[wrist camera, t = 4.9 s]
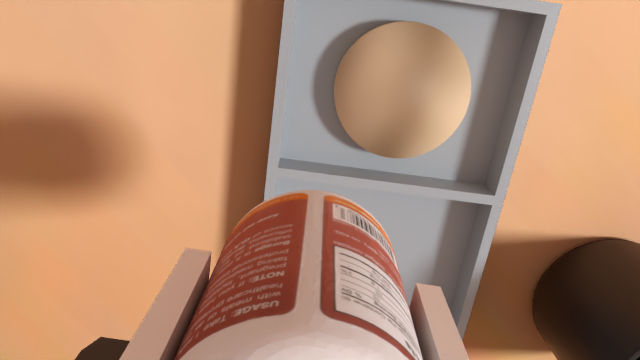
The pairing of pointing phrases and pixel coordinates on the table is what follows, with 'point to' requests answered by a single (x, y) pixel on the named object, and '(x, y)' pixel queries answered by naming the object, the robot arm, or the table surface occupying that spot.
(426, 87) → the coaster
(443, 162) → the caddy
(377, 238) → the pill bottle
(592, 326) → the mug
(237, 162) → the table surface
